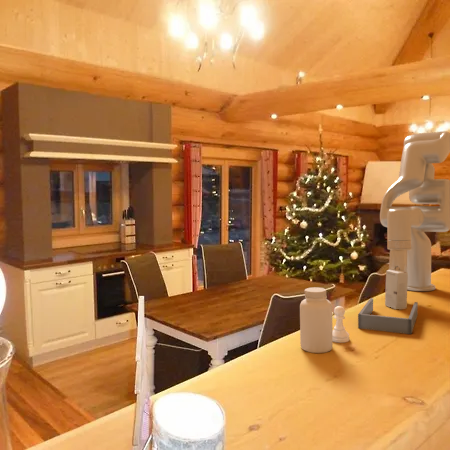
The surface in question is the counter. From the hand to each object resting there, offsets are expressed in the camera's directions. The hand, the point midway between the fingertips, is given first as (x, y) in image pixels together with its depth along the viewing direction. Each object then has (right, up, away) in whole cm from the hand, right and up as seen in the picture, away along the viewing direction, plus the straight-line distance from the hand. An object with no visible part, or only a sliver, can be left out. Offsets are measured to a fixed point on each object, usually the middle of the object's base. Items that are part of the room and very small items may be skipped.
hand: (398, 297), depth 155 cm
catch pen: (-11, -4, -21) cm, 24 cm away
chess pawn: (-29, -6, -36) cm, 46 cm away
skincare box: (-3, -2, -6) cm, 7 cm away
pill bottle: (-37, -6, -41) cm, 55 cm away
